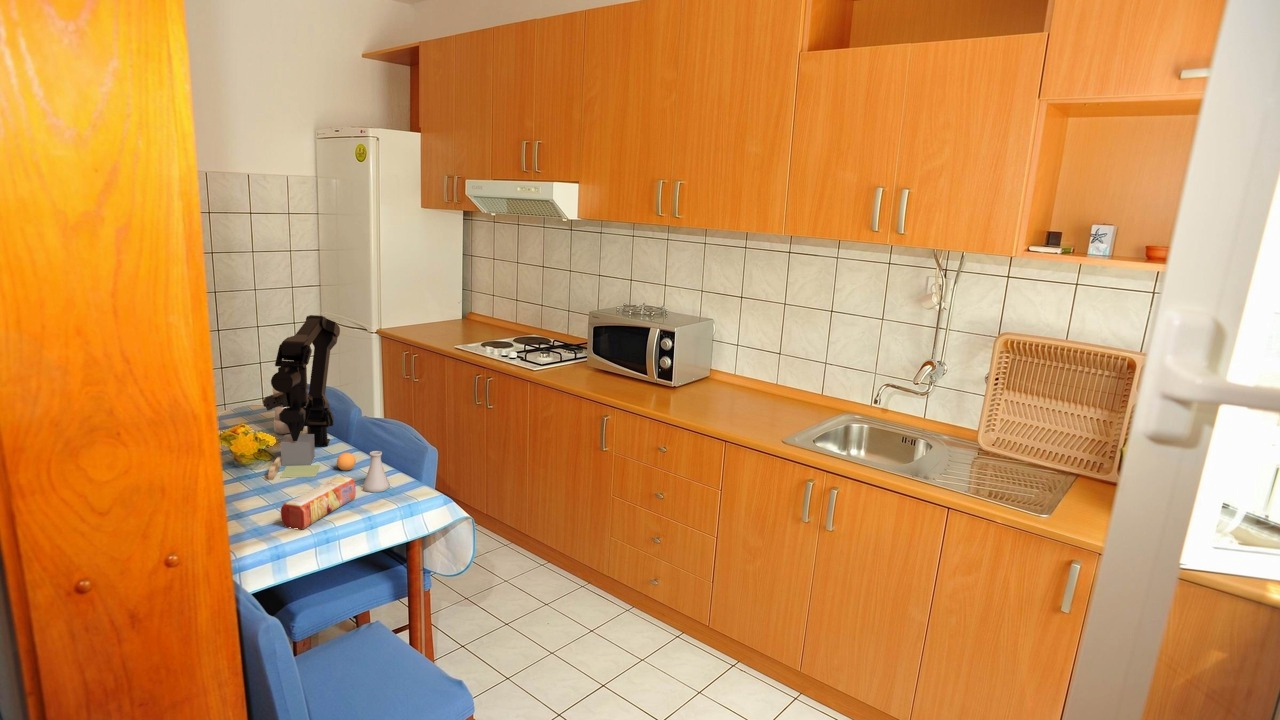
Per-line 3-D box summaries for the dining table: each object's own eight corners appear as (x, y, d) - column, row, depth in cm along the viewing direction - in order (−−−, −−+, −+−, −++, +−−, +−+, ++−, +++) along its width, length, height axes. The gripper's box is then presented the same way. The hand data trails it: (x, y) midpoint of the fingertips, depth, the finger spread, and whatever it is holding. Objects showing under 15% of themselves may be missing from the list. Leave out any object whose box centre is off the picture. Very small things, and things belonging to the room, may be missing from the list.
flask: (384, 494, 193) (384, 458, 191) (357, 492, 193) (356, 456, 191) (394, 484, 200) (394, 449, 198) (367, 482, 200) (367, 447, 198)
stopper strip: (277, 465, 209) (277, 456, 208) (281, 465, 209) (281, 456, 209) (268, 480, 198) (268, 471, 197) (272, 480, 198) (272, 471, 197)
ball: (338, 467, 210) (337, 450, 209) (356, 466, 211) (356, 450, 210) (336, 473, 205) (335, 456, 204) (355, 472, 207) (354, 455, 206)
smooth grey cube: (286, 457, 216) (285, 434, 214) (314, 456, 218) (314, 433, 216) (281, 466, 208) (280, 442, 207) (310, 465, 210) (310, 441, 209)
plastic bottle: (269, 434, 235) (266, 374, 231) (282, 429, 241) (280, 369, 238) (287, 436, 234) (285, 376, 230) (300, 431, 240) (298, 371, 237)
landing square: (286, 466, 208) (286, 466, 208) (320, 465, 211) (320, 464, 211) (280, 477, 200) (280, 477, 200) (315, 476, 202) (315, 475, 202)
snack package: (336, 496, 190) (335, 471, 189) (358, 500, 189) (358, 475, 188) (279, 528, 170) (278, 501, 168) (304, 533, 168) (303, 505, 167)
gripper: (271, 376, 215) (273, 427, 218) (257, 392, 198) (260, 447, 201) (312, 376, 218) (314, 426, 221) (302, 391, 201) (304, 446, 204)
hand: (297, 436), depth 212 cm, fingers open, 9 cm apart
